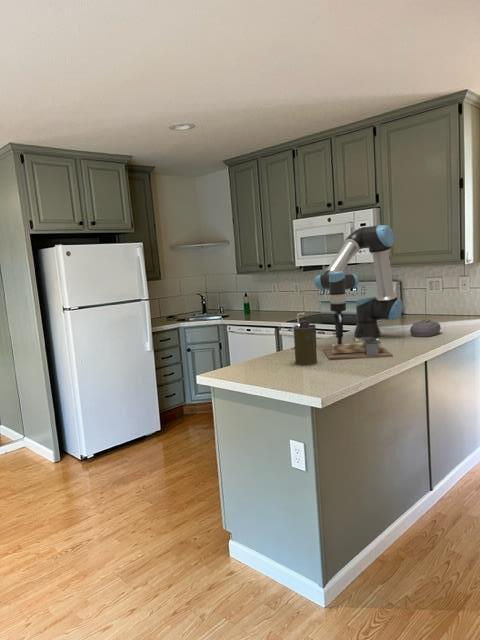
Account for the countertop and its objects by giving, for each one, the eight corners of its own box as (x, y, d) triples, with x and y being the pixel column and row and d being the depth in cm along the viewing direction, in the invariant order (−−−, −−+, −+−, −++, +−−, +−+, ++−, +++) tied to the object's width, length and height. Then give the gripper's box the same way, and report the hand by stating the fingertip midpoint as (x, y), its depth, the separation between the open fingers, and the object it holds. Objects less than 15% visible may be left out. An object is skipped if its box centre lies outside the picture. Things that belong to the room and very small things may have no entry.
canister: (303, 366, 220) (301, 323, 217) (290, 362, 229) (288, 321, 227) (322, 362, 225) (320, 320, 222) (309, 359, 234) (307, 318, 232)
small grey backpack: (419, 331, 292) (405, 336, 278) (419, 318, 291) (404, 322, 277) (444, 332, 282) (431, 338, 267) (444, 318, 281) (430, 323, 266)
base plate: (322, 350, 253) (322, 348, 253) (380, 347, 252) (380, 345, 252) (329, 360, 229) (329, 358, 229) (392, 356, 228) (392, 354, 228)
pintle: (374, 341, 237) (374, 338, 237) (379, 341, 237) (379, 338, 236) (375, 342, 234) (375, 339, 234) (381, 342, 234) (381, 339, 234)
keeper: (361, 351, 240) (361, 337, 239) (372, 350, 240) (372, 336, 239) (366, 355, 229) (366, 341, 228) (378, 355, 229) (378, 340, 228)
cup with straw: (303, 345, 270) (301, 310, 268) (310, 348, 262) (308, 311, 259) (289, 347, 268) (287, 311, 265) (296, 350, 259) (294, 313, 257)
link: (382, 349, 238) (381, 341, 238) (384, 351, 233) (383, 343, 233) (332, 351, 241) (331, 344, 240) (332, 353, 236) (332, 345, 235)
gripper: (328, 302, 244) (330, 347, 247) (332, 304, 231) (334, 352, 234) (343, 301, 243) (345, 347, 246) (347, 303, 230) (349, 352, 233)
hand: (339, 349), depth 240 cm, fingers closed
